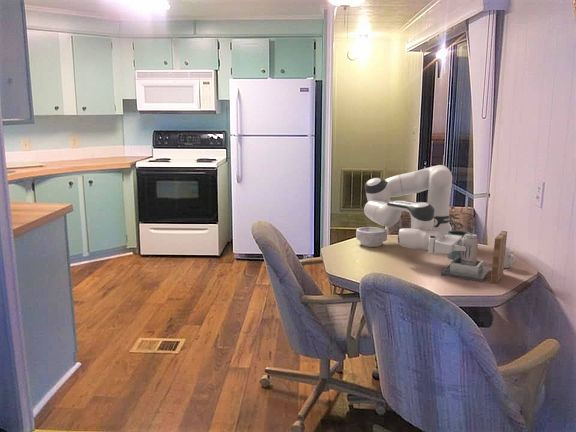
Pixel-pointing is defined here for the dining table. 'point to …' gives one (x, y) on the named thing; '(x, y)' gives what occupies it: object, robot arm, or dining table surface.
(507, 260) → the cup
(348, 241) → the dining table surface
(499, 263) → the door panel
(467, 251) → the energy drink can
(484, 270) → the grey fixture base
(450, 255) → the green tapered pot
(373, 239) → the paper bowls
